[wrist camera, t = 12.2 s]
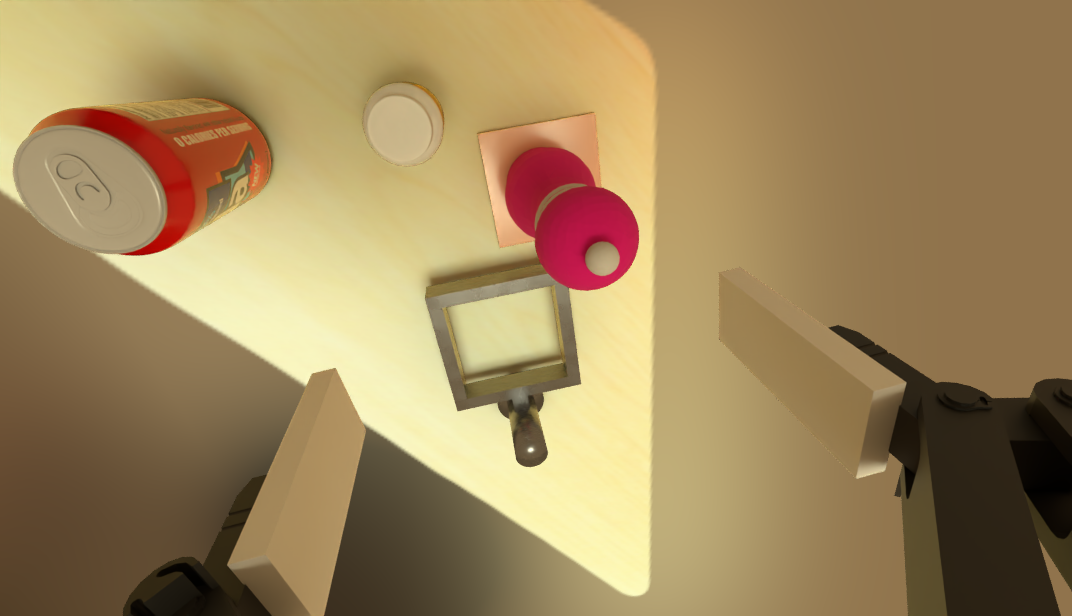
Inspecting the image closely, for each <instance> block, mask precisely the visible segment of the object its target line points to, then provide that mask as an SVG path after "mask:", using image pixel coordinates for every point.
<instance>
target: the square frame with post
mask: <svg viewBox="0 0 1072 616" xmlns="http://www.w3.org/2000/svg"><path fill="white" fill-rule="evenodd" d="M547 286H551V288H552V295H553V302H554V308H555V315H556V322H557V328H558V335H559V342H560V348H561V355H562V362H563V363H561V364H556V365H551V366H547V367H542V368H537V369H533V370H528V371H524V372H519V373H514V374H510V375H505V376H501V377H496V378H491V379H487V380H482V381H478V382H473V383H468V384H466V380H465V376H464V372H463V369H462V365H461V361H460V358H459V354H458V350H457V347H456V343H455V339H454V335H453V332H452V328H451V324H450V321H449V317H448V313H447V309H446V307H450V306H454V305H459V304H464V303H469V302H474V301H479V300H484V299H489V298H494V297H498V296H503V295H508V294H513V293H518V292H523V291H528V290H533V289H537V288H542V287H547ZM425 300H426V304H427V307H428V310H429V314H430V317H431V321H432V324H433V328H434V331H435V335H436V338H437V342H438V345H439V348H440V352H441V355H442V359H443V362H444V366H445V369H446V373H447V376H448V380H449V383H450V386H451V390H452V393H453V397H454V400H455V404H456V407H457V411H461V410H466V409H470V408H475V407H479V406H484V405H488V404H493V403H497V402H498V408H499V410H500V412H501V413H502V414H503V415H504V416H505V417H507V418H509V419H510V424H511V430H512V437H513V443H514V449H515V455H516V460H517V462H518V463H519V464H521V465H522V466H526V467H533V466H537V465H539V464H541V463H542V462H543V461H544V460H545V459H546V458H547V455H548V451H547V447H546V443H545V439H544V435H543V431H542V427H541V423H540V419H539V415H538V412H539V411H540V410H541V408H542V406H543V402H544V397H543V392H547V391H552V390H556V389H561V388H565V387H570V386H574V385H579V384H581V380H580V372H579V364H578V357H577V349H576V341H575V334H574V326H573V319H572V311H571V303H570V296H569V288H568V287H566V286H564V285H562V284H560V283H558V282H557V281H556V280H554V279H553V278H552V277H551V276H550V275H549V274H548V273H547V272H546V271H545V269H544V268H543V266H542V265H541V264H538V265H533V266H528V267H523V268H518V269H513V270H508V271H503V272H498V273H493V274H488V275H483V276H478V277H473V278H468V279H464V280H459V281H454V282H449V283H444V284H439V285H434V286H429V287H426V295H425Z"/></svg>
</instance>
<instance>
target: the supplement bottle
mask: <svg viewBox="0 0 1072 616" xmlns="http://www.w3.org/2000/svg"><path fill="white" fill-rule="evenodd" d="M363 129H364V133H365V136H366V138H367V140H368V142H369V144H370V146H371V147H372V148H373V150H374V151H375V152H376V153H377V154H378V155H379V156H380V157H382V158H383V159H385V160H386V161H388V162H390V163H393V164H396V165H399V166H414V165H418V164H421V163H423V162H425V161H427V160H428V159H429V158H431V157H432V156H433V155H434V154H435V152H436V151H437V149H438V148H439V146H440V144H441V141H442V137H443V129H444V115H443V111H442V108H441V105H440V103H439V101H438V100H437V98H436V97H435V96H434V95H433V94H432V93H431V92H430V91H429V90H427V89H426V88H424V87H422V86H420V85H418V84H414V83H409V82H402V83H391V84H387V85H385V86H382V87H381V88H379V89H378V90H376V91H375V92H374V93H373V94H372V95H371V97H370V98H369V100H368V101H367V103H366V106H365V108H364V112H363Z"/></svg>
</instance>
